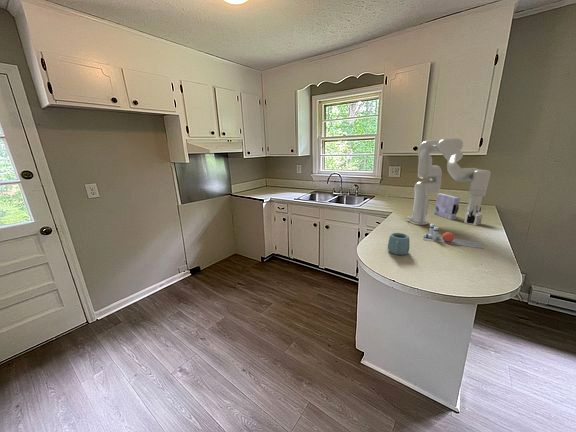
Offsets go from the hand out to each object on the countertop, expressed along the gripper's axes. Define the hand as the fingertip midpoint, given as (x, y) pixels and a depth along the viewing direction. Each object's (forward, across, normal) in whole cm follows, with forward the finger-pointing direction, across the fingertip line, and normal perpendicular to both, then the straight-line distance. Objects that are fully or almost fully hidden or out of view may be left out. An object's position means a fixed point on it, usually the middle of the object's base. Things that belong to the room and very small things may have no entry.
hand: (470, 222), depth 141 cm
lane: (+13, +1, -7) cm, 15 cm away
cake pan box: (+15, -57, -8) cm, 60 cm away
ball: (+10, +3, -10) cm, 14 cm away
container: (+14, -46, +9) cm, 49 cm away
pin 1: (+13, -2, -18) cm, 23 cm away
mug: (+13, +34, -34) cm, 50 cm away
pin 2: (+13, +4, -16) cm, 21 cm away
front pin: (+12, 0, -14) cm, 18 cm away
